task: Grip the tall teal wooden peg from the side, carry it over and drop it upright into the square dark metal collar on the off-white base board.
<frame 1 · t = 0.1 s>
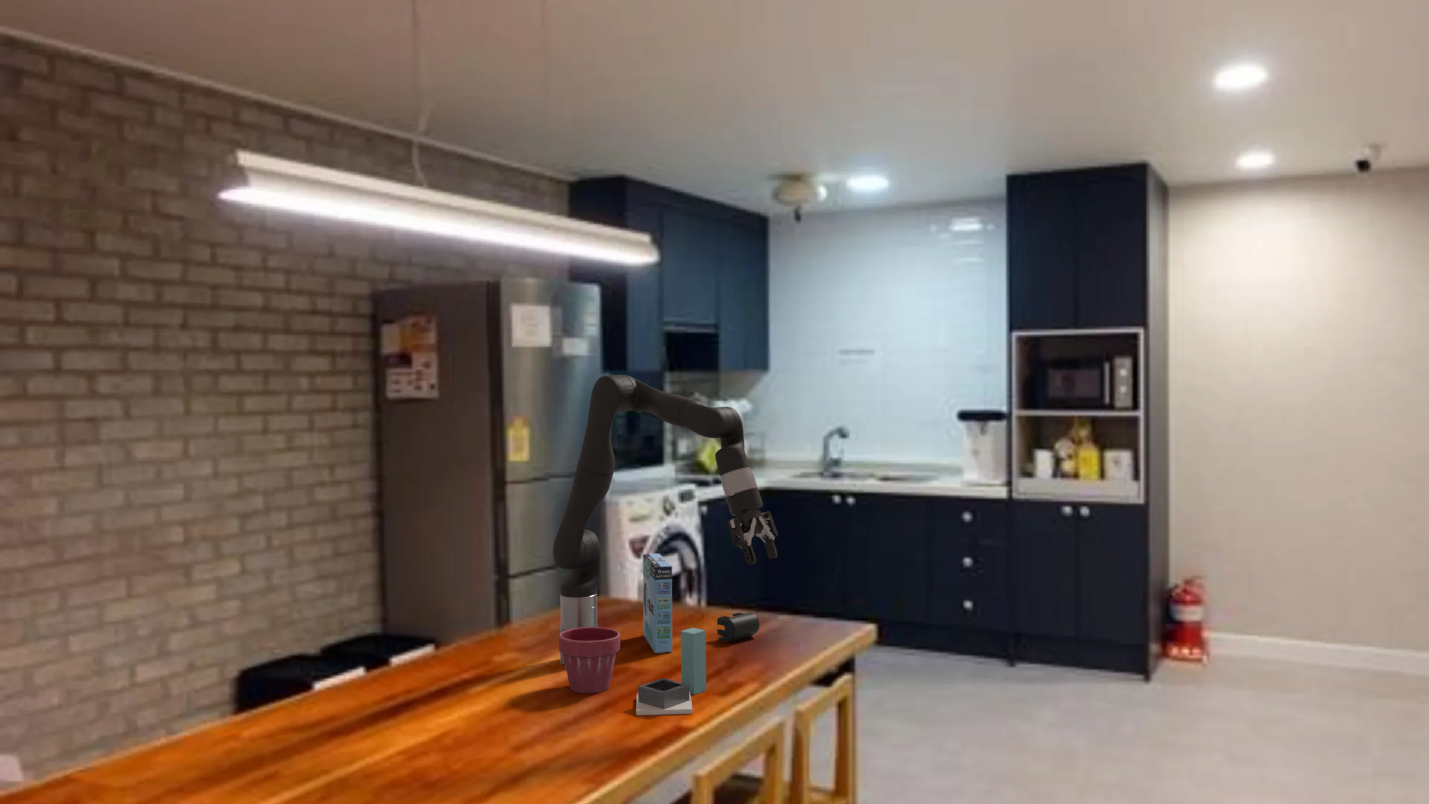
hand: (763, 560, 237), 31 cm above the table, tool tilted 20°, fingers open, 8 cm apart
plant pot: (590, 688, 249), on the table
light blue cardboard box: (657, 644, 288), on the table
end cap: (738, 640, 293), on the table
base board: (664, 705, 235), on the table
teal peg: (693, 691, 246), on the table
metal collar: (663, 693, 235), on the base board, point 3 cm above the table
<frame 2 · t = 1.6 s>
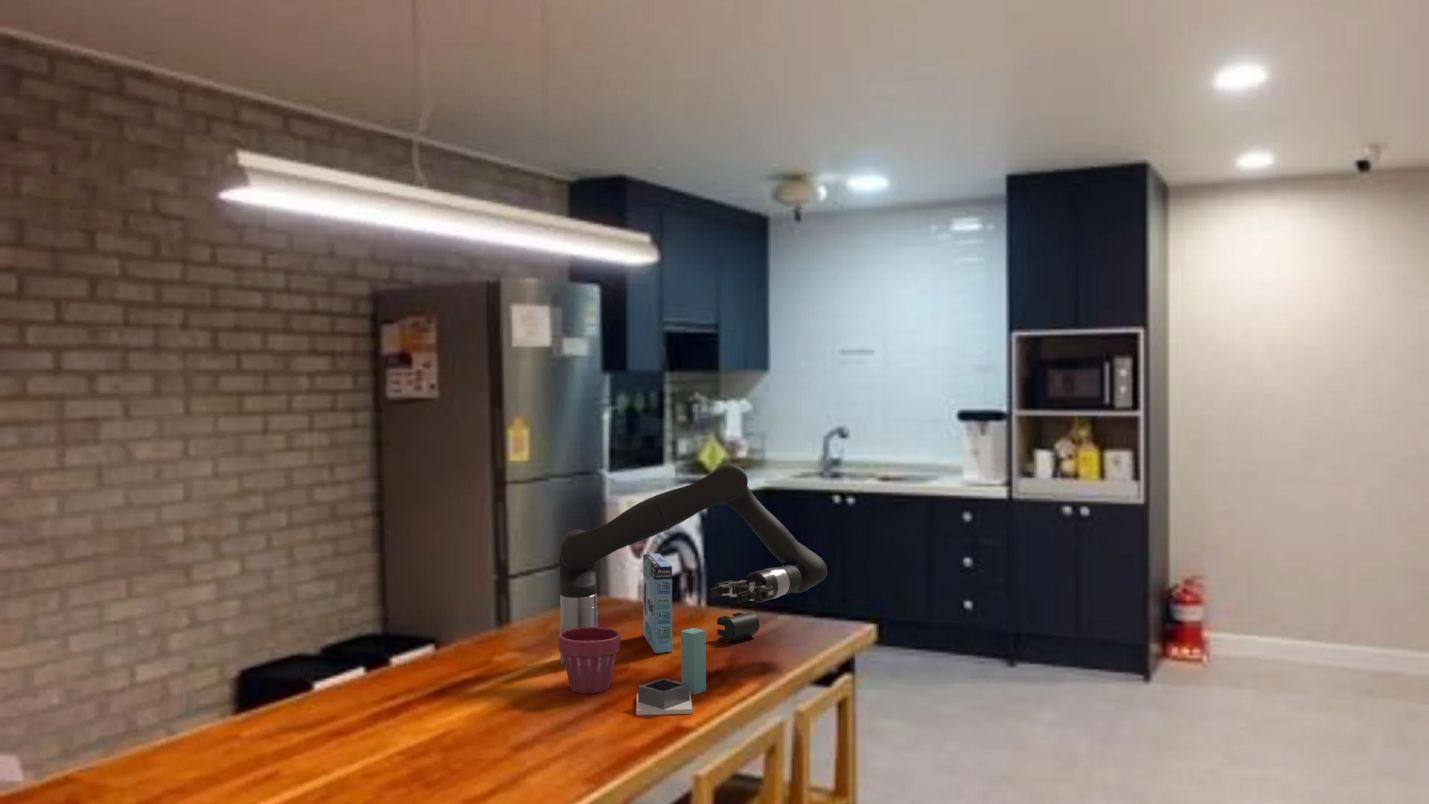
hand: (724, 595, 253), 20 cm above the table, tool horizontal, fingers open, 8 cm apart
nothing on the table moved.
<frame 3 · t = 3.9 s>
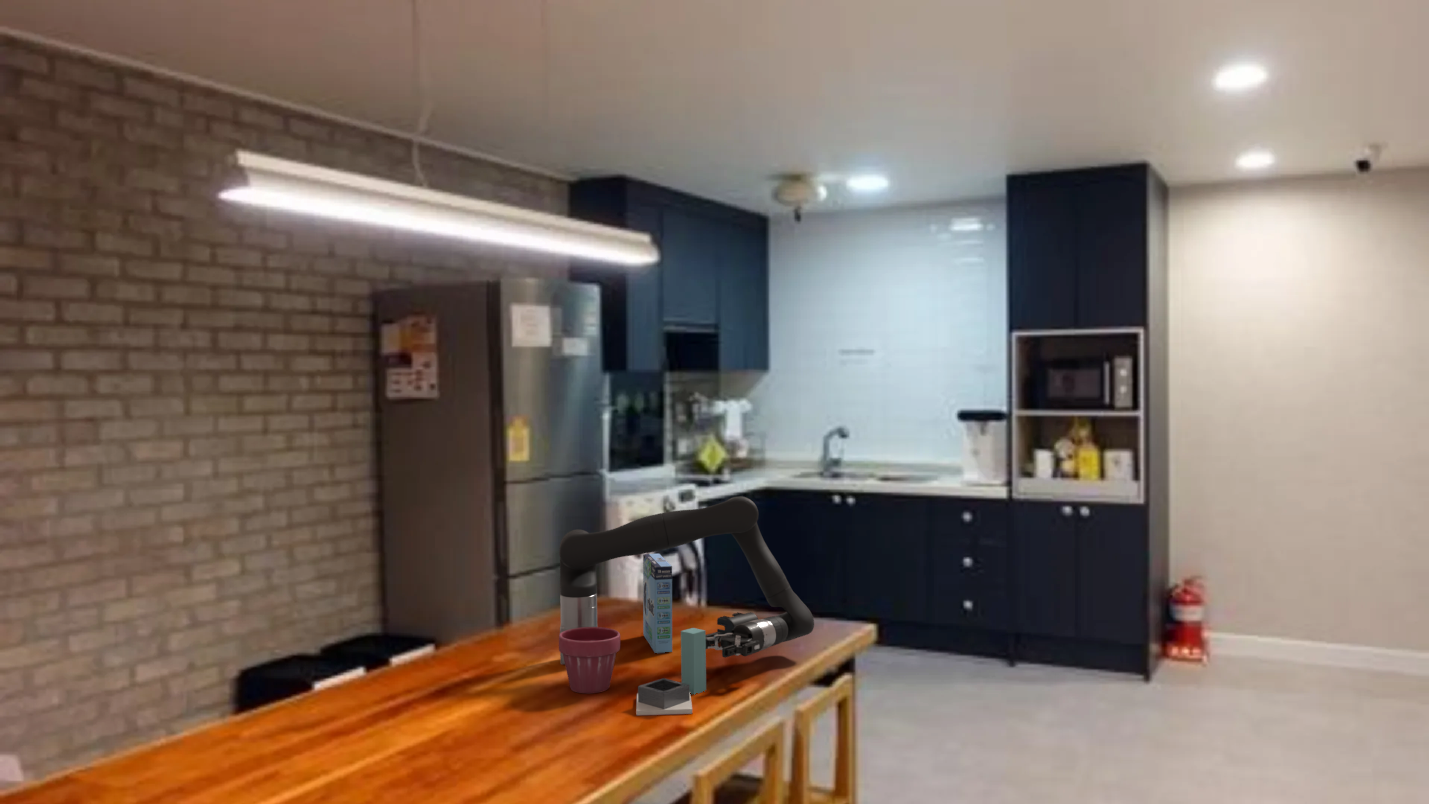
hand: (709, 650, 250), 8 cm above the table, tool horizontal, fingers open, 8 cm apart
nothing on the table moved.
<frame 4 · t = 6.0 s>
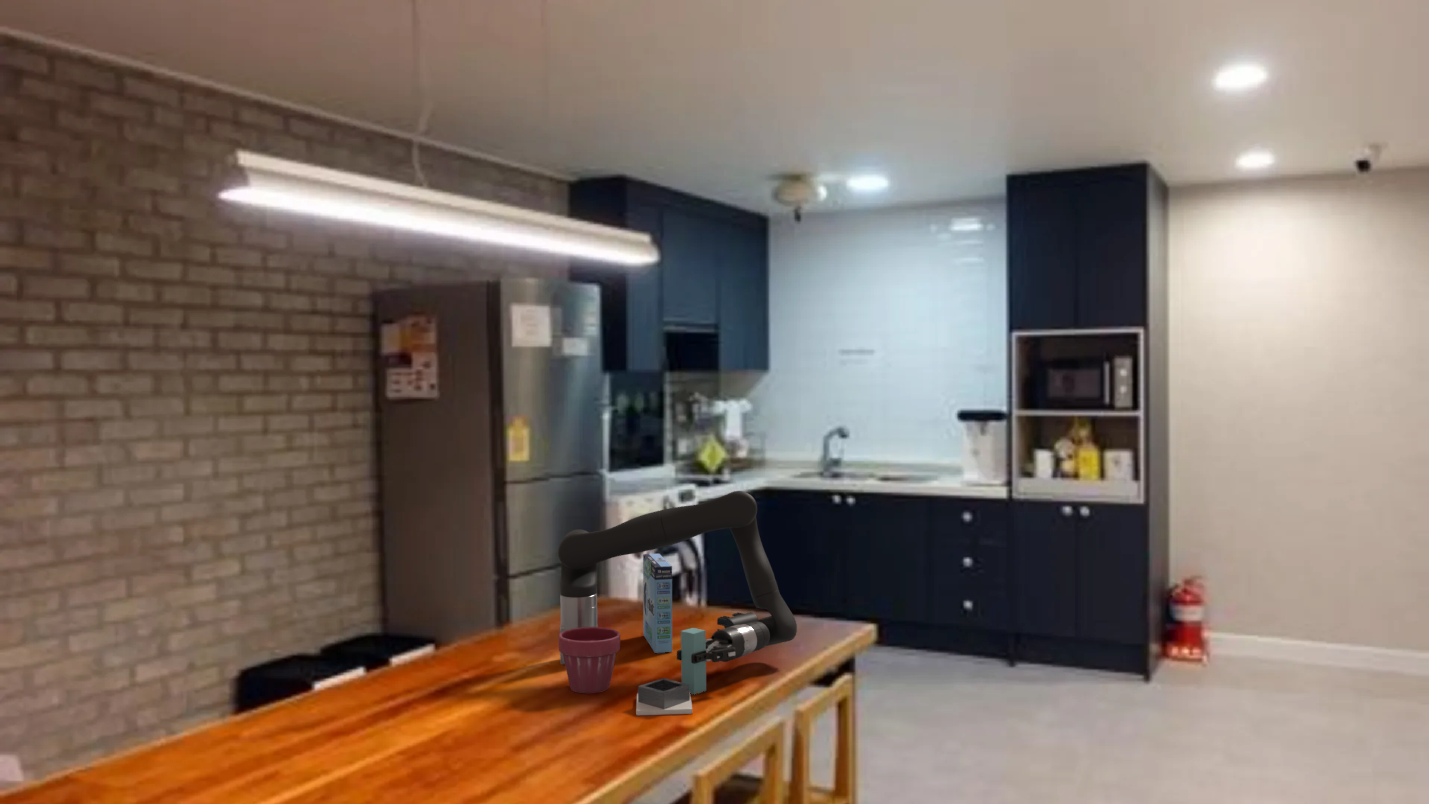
hand: (685, 657, 243), 8 cm above the table, tool horizontal, fingers closed on teal peg, 4 cm apart
teal peg: (694, 691, 246), on the table, touching gripper
everything else where it was.
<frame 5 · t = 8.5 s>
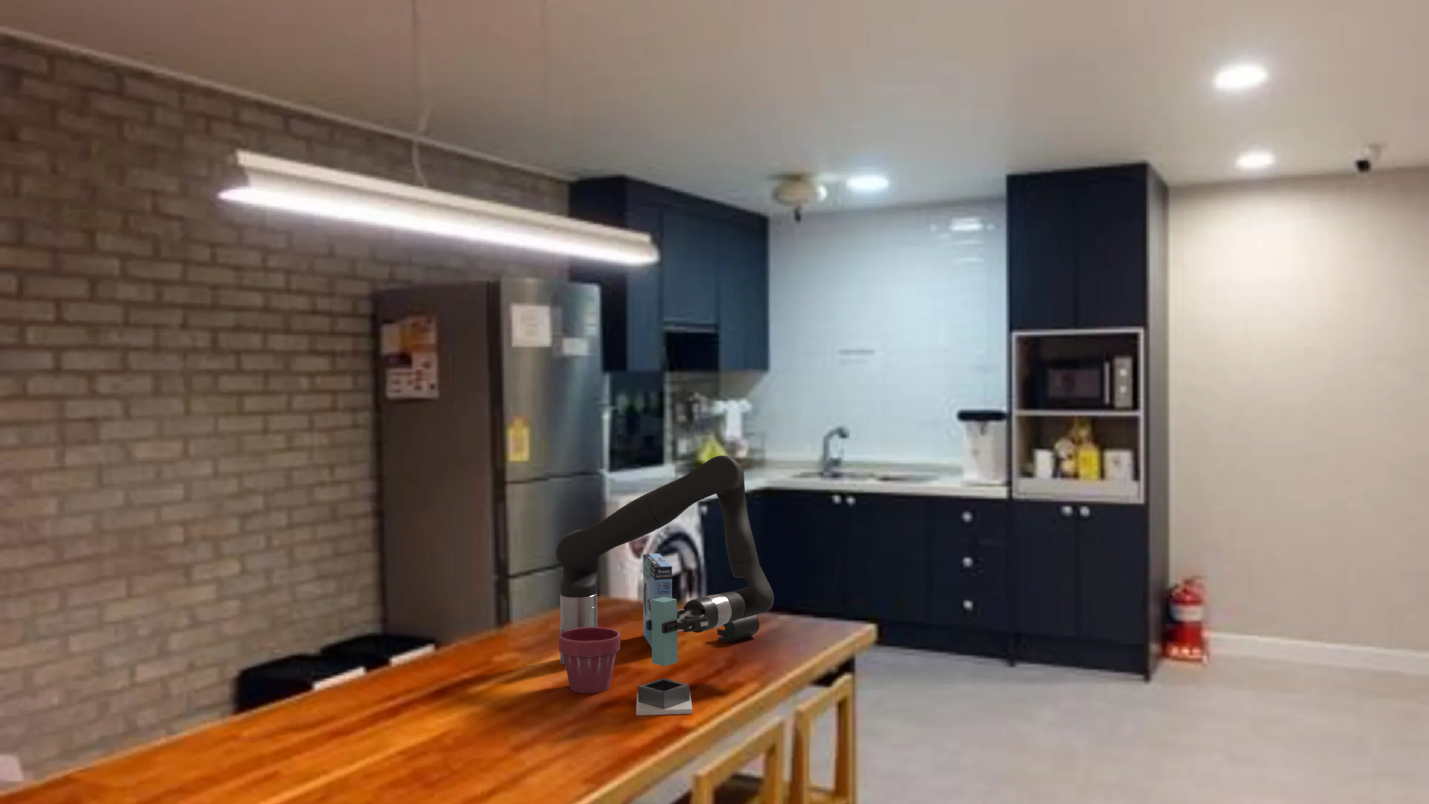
hand: (655, 627, 233), 18 cm above the table, tool horizontal, fingers closed on teal peg, 4 cm apart
teal peg: (664, 662, 235), point 9 cm above the table, touching gripper
everything else where it was.
when the fingers open (11 cm above the table, at t = 11.0 s): teal peg drops 1 cm, resting on base board.
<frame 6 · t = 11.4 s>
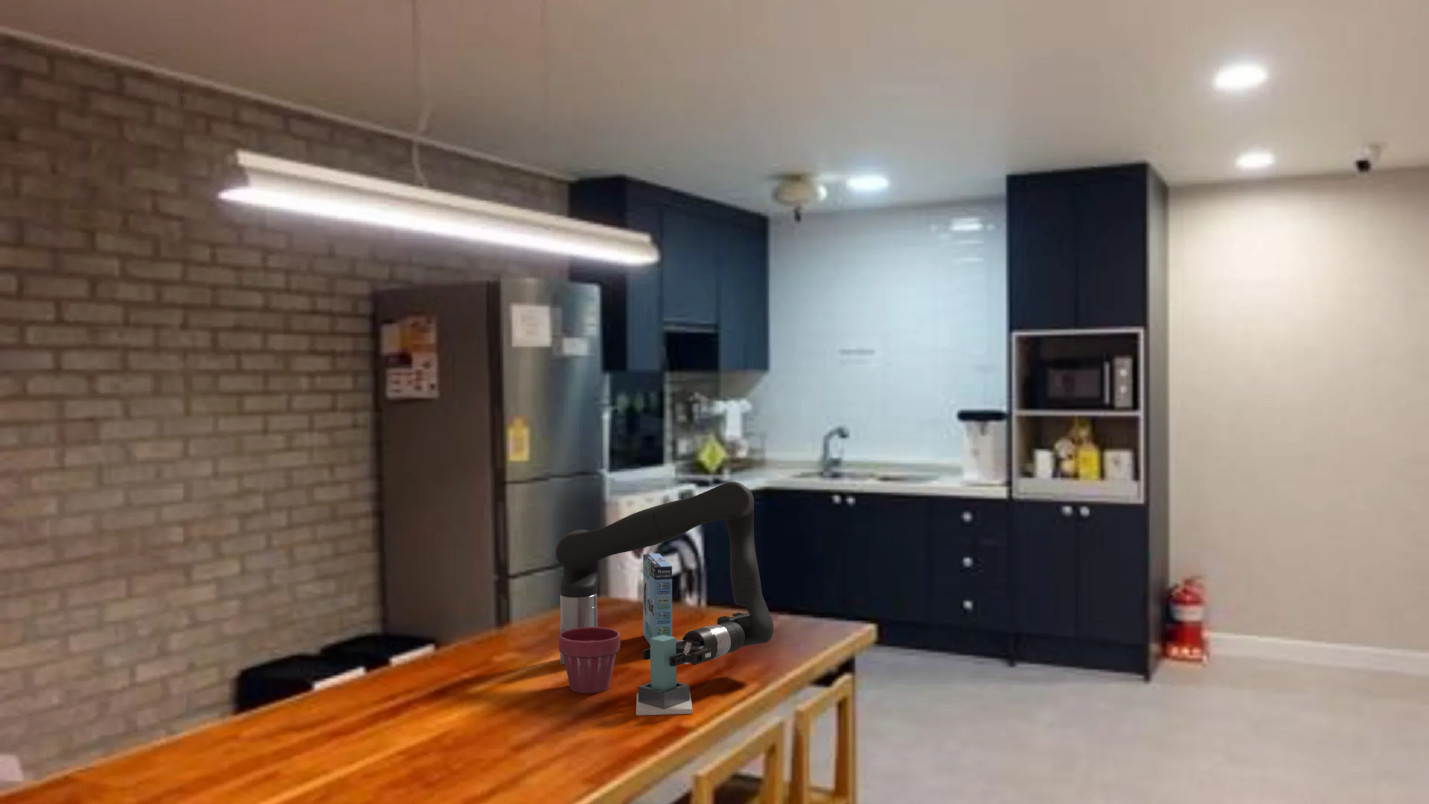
hand: (657, 658, 234), 11 cm above the table, tool horizontal, fingers open, 8 cm apart
teal peg: (663, 701, 235), point 1 cm above the table, touching base board
everything else where it was.
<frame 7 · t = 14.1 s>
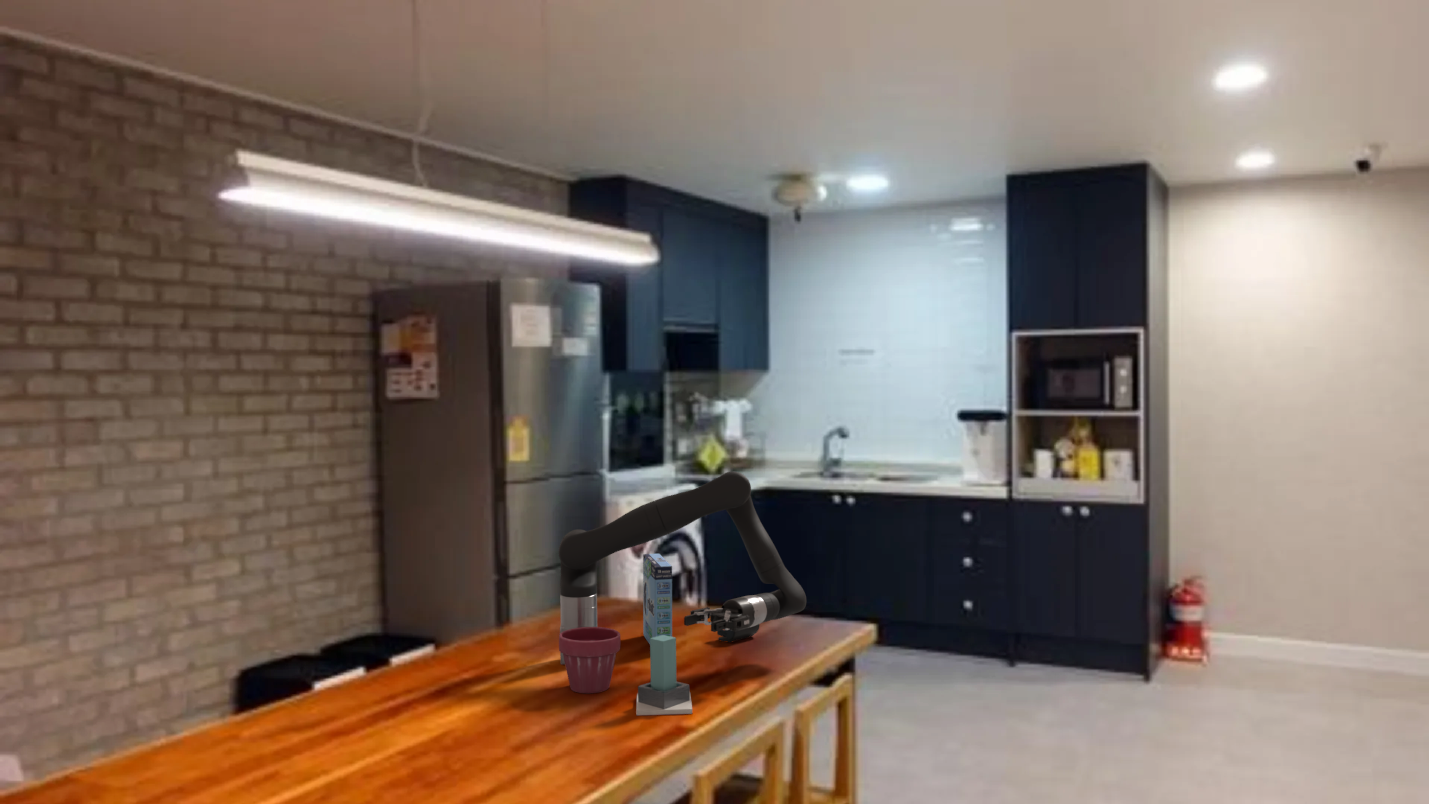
hand: (698, 624, 247), 15 cm above the table, tool horizontal, fingers open, 8 cm apart
nothing on the table moved.
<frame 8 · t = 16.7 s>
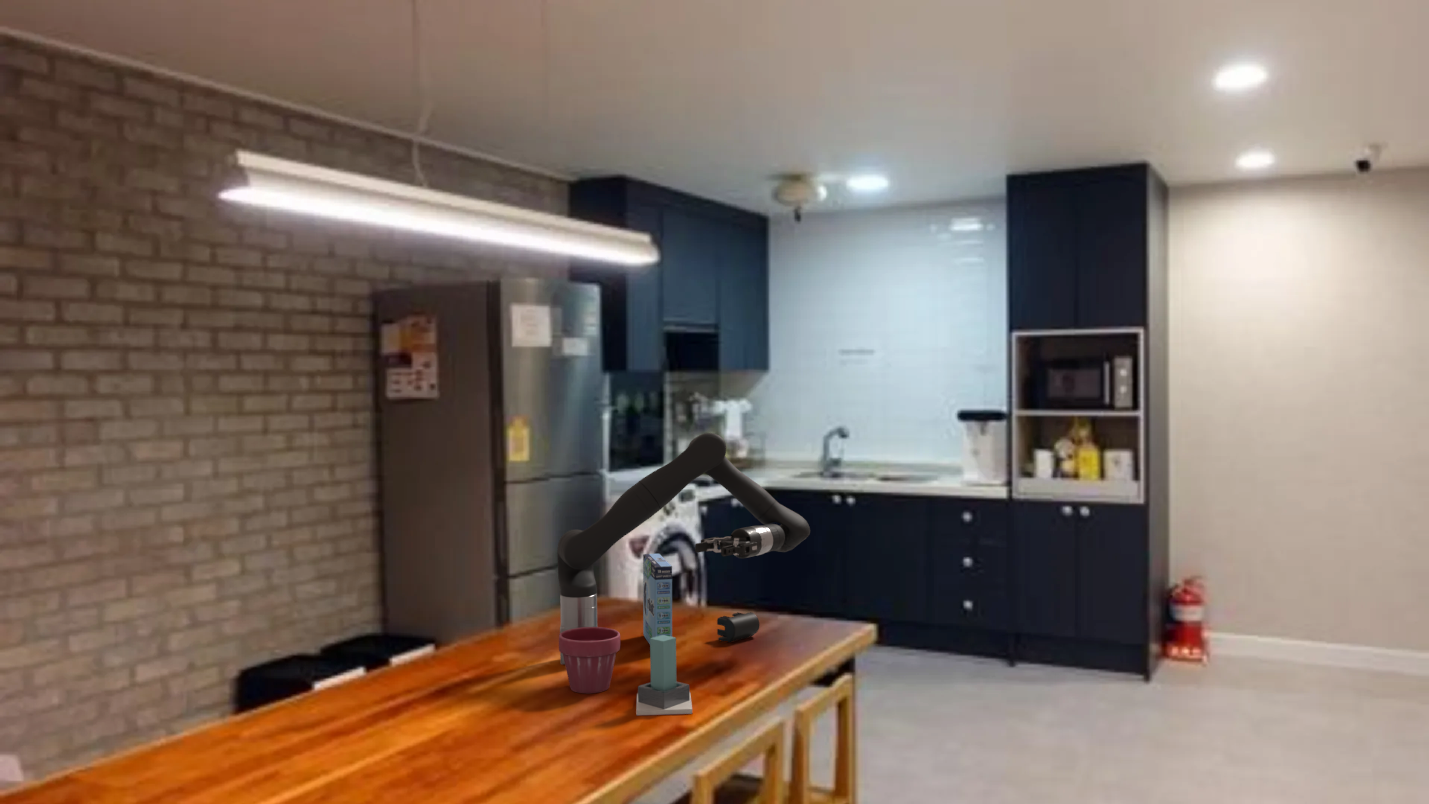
hand: (709, 550, 260), 30 cm above the table, tool horizontal, fingers open, 8 cm apart
nothing on the table moved.
at the end: teal peg 0.1 cm off-centre on the metal collar, point 1.0 cm above the metal collar's base; teal peg tilted 0°; the gripper is holding nothing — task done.
